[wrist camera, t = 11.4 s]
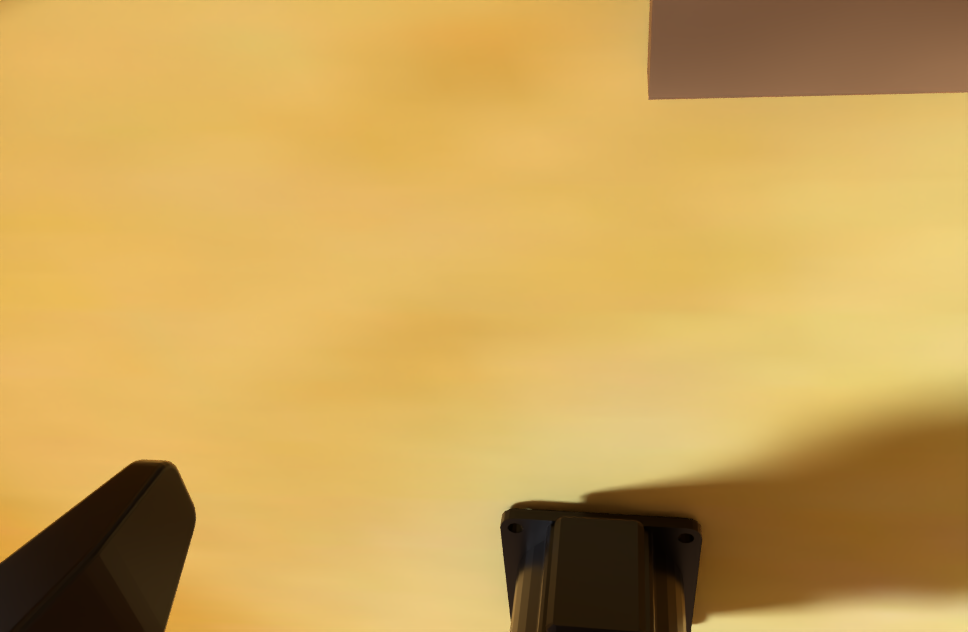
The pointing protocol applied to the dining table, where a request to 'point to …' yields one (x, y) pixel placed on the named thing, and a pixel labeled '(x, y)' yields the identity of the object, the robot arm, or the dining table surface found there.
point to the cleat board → (806, 48)
